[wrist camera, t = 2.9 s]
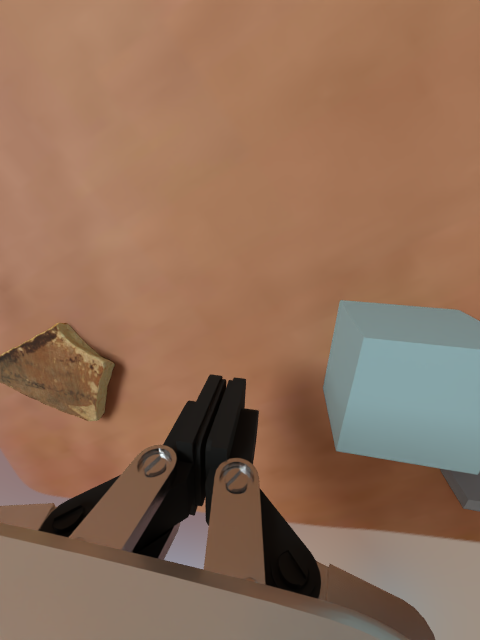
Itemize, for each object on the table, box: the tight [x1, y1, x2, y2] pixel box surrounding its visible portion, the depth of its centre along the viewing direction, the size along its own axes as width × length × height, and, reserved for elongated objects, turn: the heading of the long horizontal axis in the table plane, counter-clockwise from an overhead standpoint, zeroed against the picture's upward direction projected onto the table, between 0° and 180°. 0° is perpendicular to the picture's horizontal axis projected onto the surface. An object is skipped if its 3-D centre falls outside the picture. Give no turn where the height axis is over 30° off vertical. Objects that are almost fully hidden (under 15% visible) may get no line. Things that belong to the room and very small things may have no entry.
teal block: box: [323, 300, 480, 475], centre depth 13 cm, size 6×6×5 cm
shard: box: [0, 323, 115, 421], centre depth 19 cm, size 11×8×2 cm
